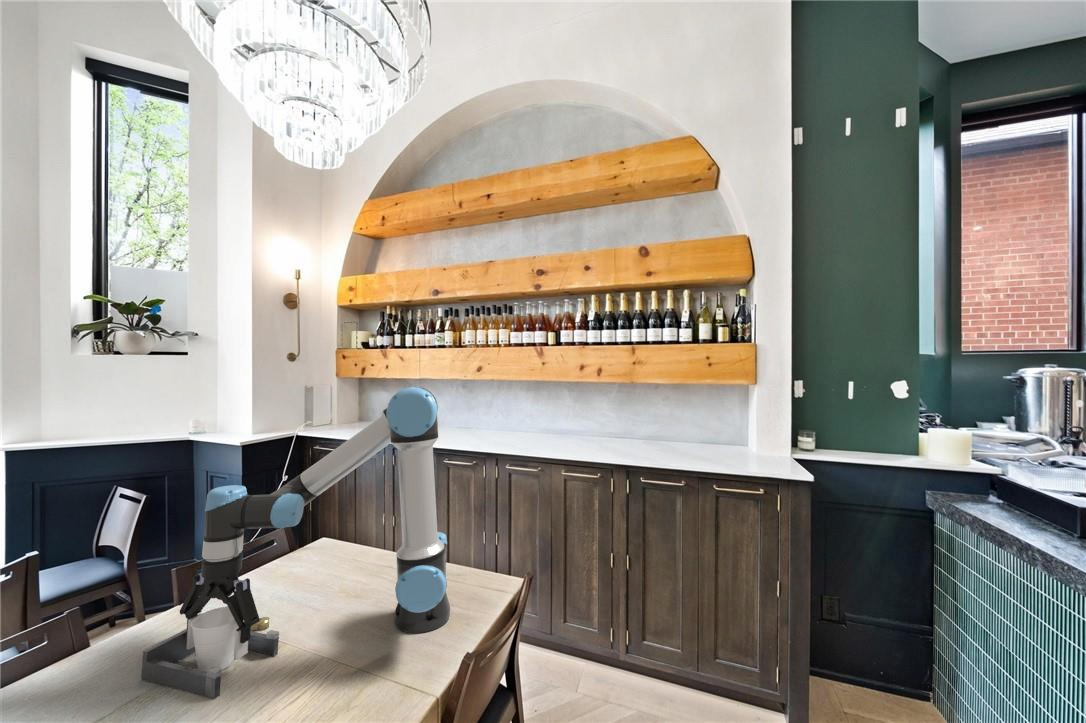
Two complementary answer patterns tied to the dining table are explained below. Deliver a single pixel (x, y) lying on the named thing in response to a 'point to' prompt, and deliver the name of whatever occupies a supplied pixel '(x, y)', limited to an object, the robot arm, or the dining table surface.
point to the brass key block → (260, 624)
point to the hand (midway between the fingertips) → (216, 651)
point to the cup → (214, 638)
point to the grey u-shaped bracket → (207, 684)
